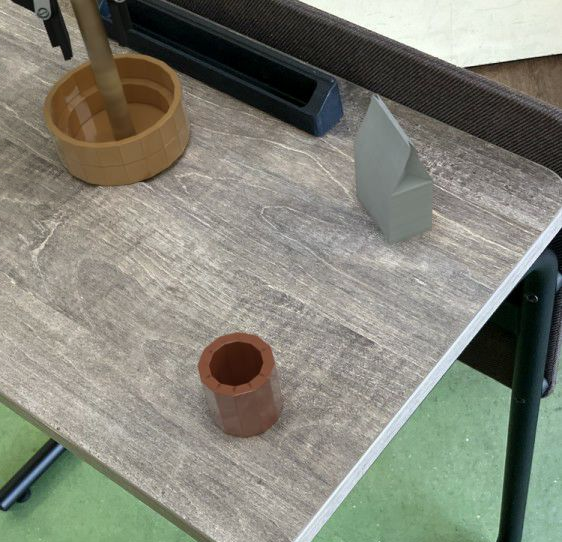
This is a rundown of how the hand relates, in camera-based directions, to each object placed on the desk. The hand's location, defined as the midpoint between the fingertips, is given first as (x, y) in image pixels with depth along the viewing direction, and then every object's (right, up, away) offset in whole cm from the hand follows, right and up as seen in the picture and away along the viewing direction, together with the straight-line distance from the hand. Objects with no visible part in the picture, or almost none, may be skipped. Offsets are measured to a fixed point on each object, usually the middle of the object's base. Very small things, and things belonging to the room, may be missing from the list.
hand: (94, 41), depth 79 cm
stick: (+1, -6, +9) cm, 10 cm away
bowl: (+1, -6, +9) cm, 11 cm away
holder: (+13, -30, -9) cm, 34 cm away
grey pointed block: (+25, -14, +1) cm, 29 cm away
